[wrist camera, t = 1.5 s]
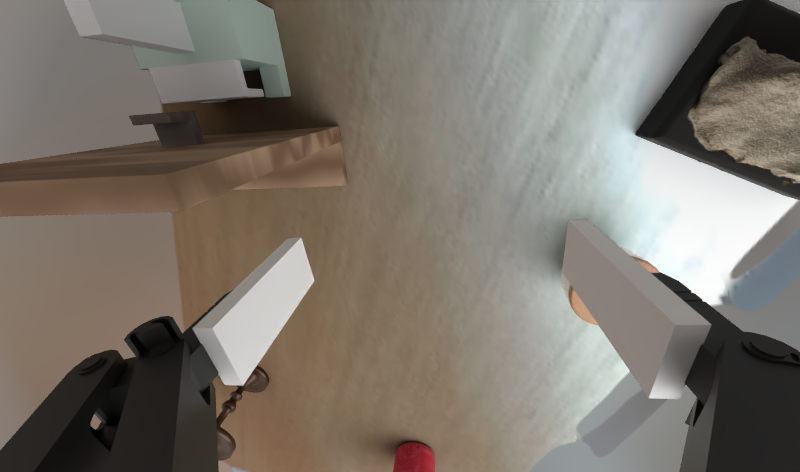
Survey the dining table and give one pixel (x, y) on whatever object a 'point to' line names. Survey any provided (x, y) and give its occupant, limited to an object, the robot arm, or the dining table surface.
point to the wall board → (171, 169)
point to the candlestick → (253, 384)
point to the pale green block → (192, 44)
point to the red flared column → (414, 458)
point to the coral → (739, 98)
